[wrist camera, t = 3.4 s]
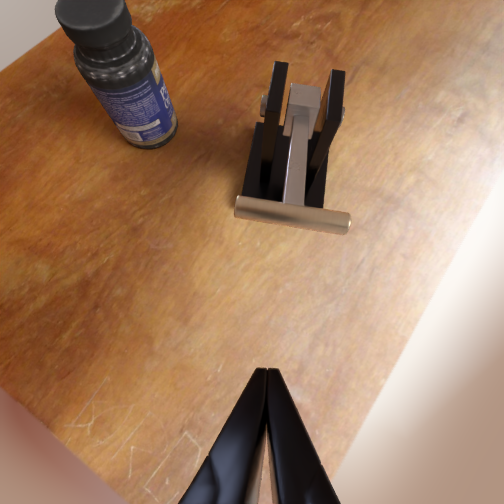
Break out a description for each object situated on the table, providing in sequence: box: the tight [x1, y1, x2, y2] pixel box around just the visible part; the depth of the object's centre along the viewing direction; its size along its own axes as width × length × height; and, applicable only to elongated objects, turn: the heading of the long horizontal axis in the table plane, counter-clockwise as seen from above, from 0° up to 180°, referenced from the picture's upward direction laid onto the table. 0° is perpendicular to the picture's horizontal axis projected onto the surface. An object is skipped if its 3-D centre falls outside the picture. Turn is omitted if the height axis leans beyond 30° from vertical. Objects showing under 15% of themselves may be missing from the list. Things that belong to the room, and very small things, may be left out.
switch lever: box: [234, 83, 351, 235], centre depth 16 cm, size 12×6×2 cm, turn 171°
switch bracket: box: [241, 61, 345, 209], centre depth 21 cm, size 10×8×10 cm
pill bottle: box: [55, 0, 178, 149], centre depth 22 cm, size 6×6×11 cm
